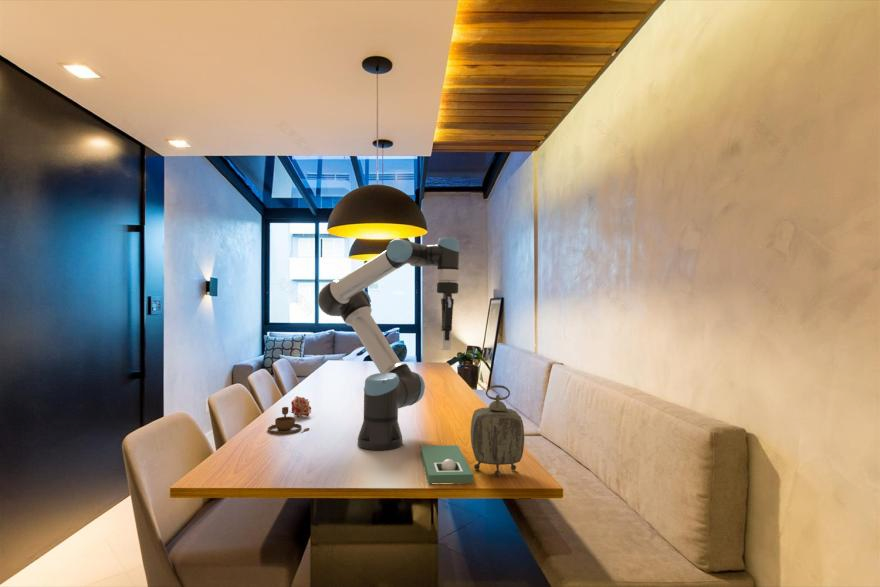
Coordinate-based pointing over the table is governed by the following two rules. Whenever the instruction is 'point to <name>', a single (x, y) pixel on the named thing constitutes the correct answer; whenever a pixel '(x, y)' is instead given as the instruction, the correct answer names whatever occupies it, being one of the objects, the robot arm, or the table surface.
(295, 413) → the flower
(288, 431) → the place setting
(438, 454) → the green slotted plate
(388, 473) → the table surface
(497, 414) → the tabletop clock
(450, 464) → the ball
